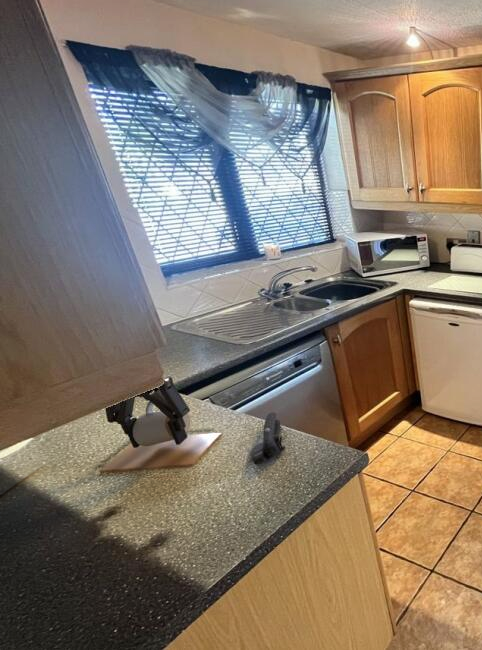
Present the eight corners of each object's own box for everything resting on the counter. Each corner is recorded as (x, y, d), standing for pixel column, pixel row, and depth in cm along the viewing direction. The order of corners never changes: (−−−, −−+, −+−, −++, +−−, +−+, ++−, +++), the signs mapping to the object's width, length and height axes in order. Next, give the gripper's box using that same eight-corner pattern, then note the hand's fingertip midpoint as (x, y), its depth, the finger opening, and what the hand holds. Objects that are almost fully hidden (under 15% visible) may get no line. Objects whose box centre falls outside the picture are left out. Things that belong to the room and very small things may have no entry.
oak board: (99, 472, 87) (98, 470, 86) (139, 440, 97) (138, 438, 97) (193, 465, 88) (192, 463, 88) (222, 434, 98) (221, 432, 98)
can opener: (286, 460, 89) (281, 440, 87) (251, 470, 86) (245, 450, 84) (290, 418, 104) (286, 401, 102) (261, 426, 101) (255, 408, 99)
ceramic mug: (198, 425, 97) (175, 445, 90) (166, 432, 97) (141, 453, 90) (177, 390, 94) (152, 408, 86) (144, 397, 93) (116, 416, 86)
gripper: (189, 348, 88) (218, 429, 96) (88, 353, 86) (126, 435, 94) (164, 363, 81) (198, 449, 89) (54, 370, 79) (98, 457, 87)
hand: (161, 442), depth 91 cm, fingers closed on ceramic mug, 9 cm apart
